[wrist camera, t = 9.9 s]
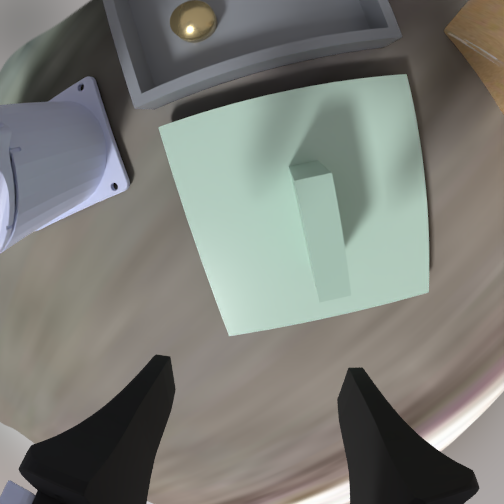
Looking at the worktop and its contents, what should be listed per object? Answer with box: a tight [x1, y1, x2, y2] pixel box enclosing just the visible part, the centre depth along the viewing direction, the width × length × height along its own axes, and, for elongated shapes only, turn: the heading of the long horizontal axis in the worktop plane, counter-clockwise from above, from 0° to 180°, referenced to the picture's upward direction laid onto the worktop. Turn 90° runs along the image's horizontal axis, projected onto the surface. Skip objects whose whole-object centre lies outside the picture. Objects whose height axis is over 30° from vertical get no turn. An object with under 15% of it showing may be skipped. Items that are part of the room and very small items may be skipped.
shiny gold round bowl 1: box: [170, 0, 217, 43], centre depth 14 cm, size 2×2×1 cm
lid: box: [159, 74, 429, 336], centre depth 16 cm, size 14×14×5 cm
